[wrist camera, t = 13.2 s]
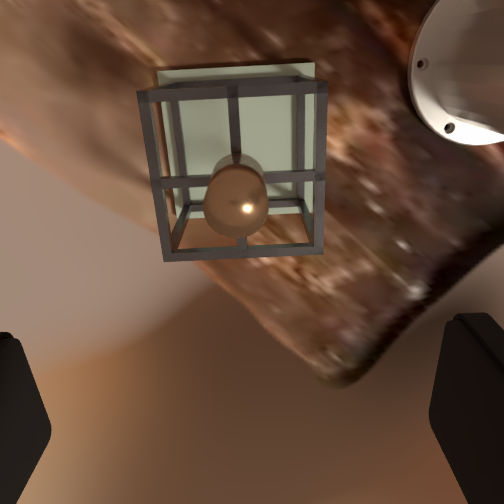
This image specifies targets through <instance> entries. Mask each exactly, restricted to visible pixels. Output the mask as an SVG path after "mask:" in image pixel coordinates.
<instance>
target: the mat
mask: <svg viewBox="0 0 504 504" xmlns="http://www.w3.org/2000/svg"><path fill="white" fill-rule="evenodd" d="M314 67H315V63H296V64H278V65H259V66H241V67H222V68H204V69H185V70H167V71H157V77H158V84H159V85H160V84H164V83H168V82H179V81H198V80H217V79H235V78H254V77H272V76H291V75H307V76H311V77H314ZM179 104H180V112H181V121H182V129H183V138H184V146H185V154H186V163H187V171H188V175H203V174H212V171H213V169H214V167H215V165H216V164H217V162H218V161H219V160H220V159H222V158H223V157H225V156H227V155H229V154H231V144H230V130H229V116H228V102H227V98H225V99H206V100H187V101H179ZM161 106H162V113H163V121H164V128H165V135H166V143H167V150H168V157H169V164H170V172H171V176H180V175H179V167H178V159H177V151H176V144H175V136H174V128H173V120H172V112H171V105H170V101H168V102H161ZM239 115H240V132H241V148H242V154H246V155H249V156H251V157H252V158H254V159H255V160H256V161H257V162H258V163H259V164H260V165H261V167H262V169H263V171H281V170H297V95H281V96H262V97H243V98H239ZM313 130H314V94H305V169H313ZM266 189H267V196H268V199H285V198H297V182H290V183H270V184H266ZM206 190H207V187H191V188H190V196H191V203H203V200H204V197H205V193H206ZM173 193H174V201H175V208H176V215H177V219H178V217H179V215H180V213H181V210H182V208H183V198H182V190H181V188H173ZM312 193H313V181H310V182H305V198H304V200H305V202H306V205H307V207H308V210H309V212H312ZM287 213H299V210H298V207H282V208H269V212H268V214H287ZM189 218H205V216H204V213H203V211H202V212H191V214H190V217H189Z"/></svg>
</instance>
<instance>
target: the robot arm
mask: <svg viewBox="0 0 504 504" xmlns="http://www.w3.org/2000/svg"><path fill="white" fill-rule="evenodd" d="M418 61H421V66H420V67H419V68H418V67H417V63H418ZM408 88H409V93H410V97H411V101H412V104H413V106H414V108H415V110H416V113H417V114H418V116H419V117H420V118H421V120H422V121H423V123H424V124H425V125H426V126H427V127H428V128H429V129H431V130H432V131H433V132H434V133H435V134H437V135H439V136H441V137H443V138H445V139H447V140H449V141H452V142H455V143H458V144H464V145H470V146H479V145H490V144H494V143H498V142H503V141H504V0H436V1H435V3H434V4H433V5H432V7H431V8H430V10H429V11H428V12H427V14H426V15H425V17H424V19H423V21H422V23H421V25H420V27H419V29H418V31H417V32H416V35H415V38H414V41H413V44H412V47H411V50H410V56H409V62H408ZM446 124H447V128H446V129H445V130H444V127H445V125H446ZM429 421H430V425H431V428H432V430H433V432H434V434H435V436H436V438H437V440H438V442H439V444H440V446H441V449H442V451H443V452H444V455H445V457H446V459H447V461H448V463H449V464H450V467H451V469H452V471H453V473H454V475H455V477H456V479H457V481H458V484H459V486H460V487H461V490H462V492H463V494H464V496H465V498H466V500H467V502H468V504H504V330H503V329H502V328H501V327H500V326H499V325H498V324H497V323H496V322H495V320H494V319H493V318H492V317H491V316H490V315H488V314H487V313H483V312H482V313H458V314H457V315H455V316H454V318H453V320H452V321H447V323H446V325H445V329H444V334H443V340H442V345H441V350H440V355H439V360H438V366H437V371H436V376H435V381H434V386H433V391H432V397H431V402H430V407H429ZM50 437H51V423H50V420H49V418H48V415H47V412H46V410H45V407H44V404H43V401H42V399H41V396H40V393H39V391H38V388H37V385H36V383H35V380H34V377H33V374H32V372H31V369H30V366H29V364H28V361H27V358H26V355H25V353H24V350H23V347H22V345H21V343H20V341H19V340H18V339H16V338H14V337H13V336H12V335H11V334H10V333H8V332H0V504H16V503H17V501H18V499H19V497H20V495H21V494H22V491H23V490H24V488H25V486H26V484H27V482H28V480H29V478H30V476H31V474H32V473H33V471H34V469H35V467H36V465H37V463H38V461H39V459H40V457H41V456H42V454H43V452H44V450H45V448H46V446H47V444H48V442H49V440H50Z"/></svg>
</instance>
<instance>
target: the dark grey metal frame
mask: <svg viewBox="0 0 504 504" xmlns="http://www.w3.org/2000/svg"><path fill="white" fill-rule="evenodd" d="M136 92H137V98H138V105H139V111H140V117H141V123H142V130H143V136H144V142H145V148H146V155H147V161H148V167H149V173H150V179H151V186H152V192H153V198H154V204H155V211H156V217H157V223H158V229H159V235H160V242H161V248H162V254H163V260H164V262H175V261H195V260H216V259H237V258H257V257H278V256H299V255H319V254H323V237H324V204H325V170H326V136H327V103H328V81H326V80H322V79H318V78H315V77H311V76H307V75H291V76H272V77H254V78H235V79H217V80H198V81H179V82H168V83H164V84H160V85H157V86H153V87H150V88H146V89H143V90H139V91H136ZM305 94H315V130H314V169H305ZM281 95H297V170H281V171H263V169H262V167H261V165H260V164H259V163H258V162H257V161H256V160H255V159H254V158H252V157H251V156H249V155H246V154H242V148H241V132H240V115H239V98H243V97H262V96H281ZM225 98H227V102H228V116H229V130H230V144H231V154H229V155H227V156H225V157H223V158H222V159H220V160H219V161H218V162H217V164H216V165H215V167H214V169H213V171H212V174H203V175H188V171H187V163H186V154H185V146H184V138H183V129H182V121H181V112H180V104H179V101H187V100H206V99H225ZM168 101H170V105H171V112H172V120H173V128H174V136H175V144H176V151H177V159H178V167H179V175H180V176H164V177H162V170H161V163H160V156H159V149H158V143H157V136H156V129H155V122H154V115H153V109H152V102H168ZM310 181H314V188H313V219H312V217H311V215H310V212H309V210H308V207H307V205H306V202H305V200H304V198H305V182H310ZM290 182H297V198H285V199H268V196H267V189H266V184H270V183H290ZM191 187H207V190H206V193H205V197H204V200H203V203H191V196H190V188H191ZM171 188H181V190H182V198H183V208H182V210H181V213H180V215H179V217H178V219H177V222H176V224H175V226H174V229H173V231H172V233H171V231H170V224H169V217H168V210H167V204H166V197H165V190H164V189H171ZM282 207H298V210H299V213H300V216H301V219H302V222H303V224H304V227H305V230H306V233H307V236H308V239H309V242H310V243H294V244H274V245H253V246H247V236H250V235H252V234H254V233H255V232H257V231H258V230H259V229H260V228H261V227H262V226H263V224H264V223H265V221H266V219H267V216H268V212H269V208H282ZM202 211H203V213H204V216H205V219H206V221H207V223H208V224H209V225H210V227H211V228H212V229H213V230H214V231H216V232H217V233H219V234H221V235H223V236H225V237H229V238H237V243H238V246H232V247H212V248H191V249H178V246H179V244H180V241H181V238H182V236H183V233H184V230H185V228H186V225H187V222H188V219H189V217H190V214H191V212H202Z"/></svg>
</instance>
